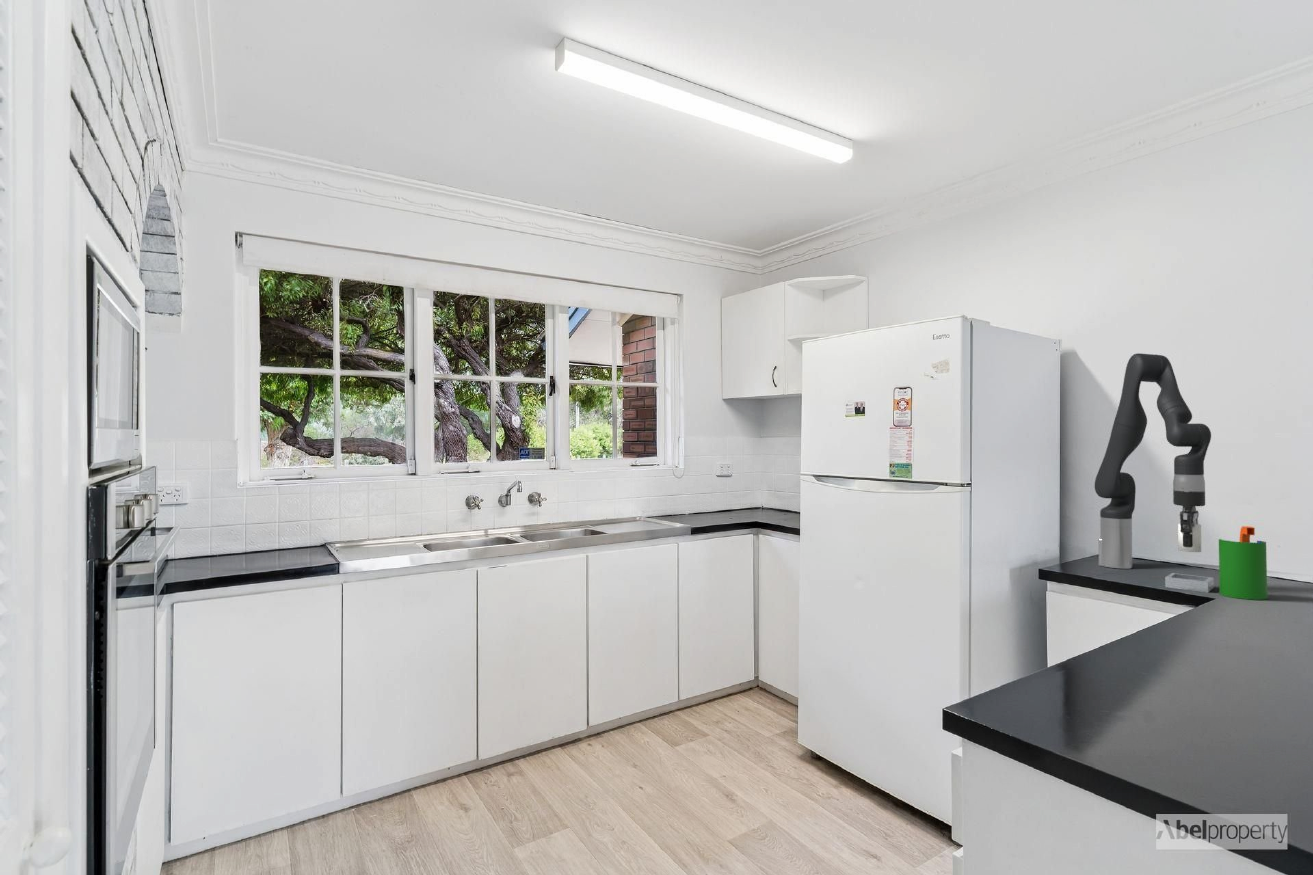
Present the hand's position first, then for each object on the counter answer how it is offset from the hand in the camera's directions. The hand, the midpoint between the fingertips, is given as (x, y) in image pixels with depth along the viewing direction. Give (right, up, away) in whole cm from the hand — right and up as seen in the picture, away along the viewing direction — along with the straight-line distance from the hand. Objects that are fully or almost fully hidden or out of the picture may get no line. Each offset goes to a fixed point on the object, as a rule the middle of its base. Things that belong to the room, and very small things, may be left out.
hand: (1189, 545), depth 201 cm
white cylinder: (0, -2, 0) cm, 2 cm away
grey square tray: (0, -12, 0) cm, 12 cm away
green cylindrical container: (+6, -13, -12) cm, 19 cm away
